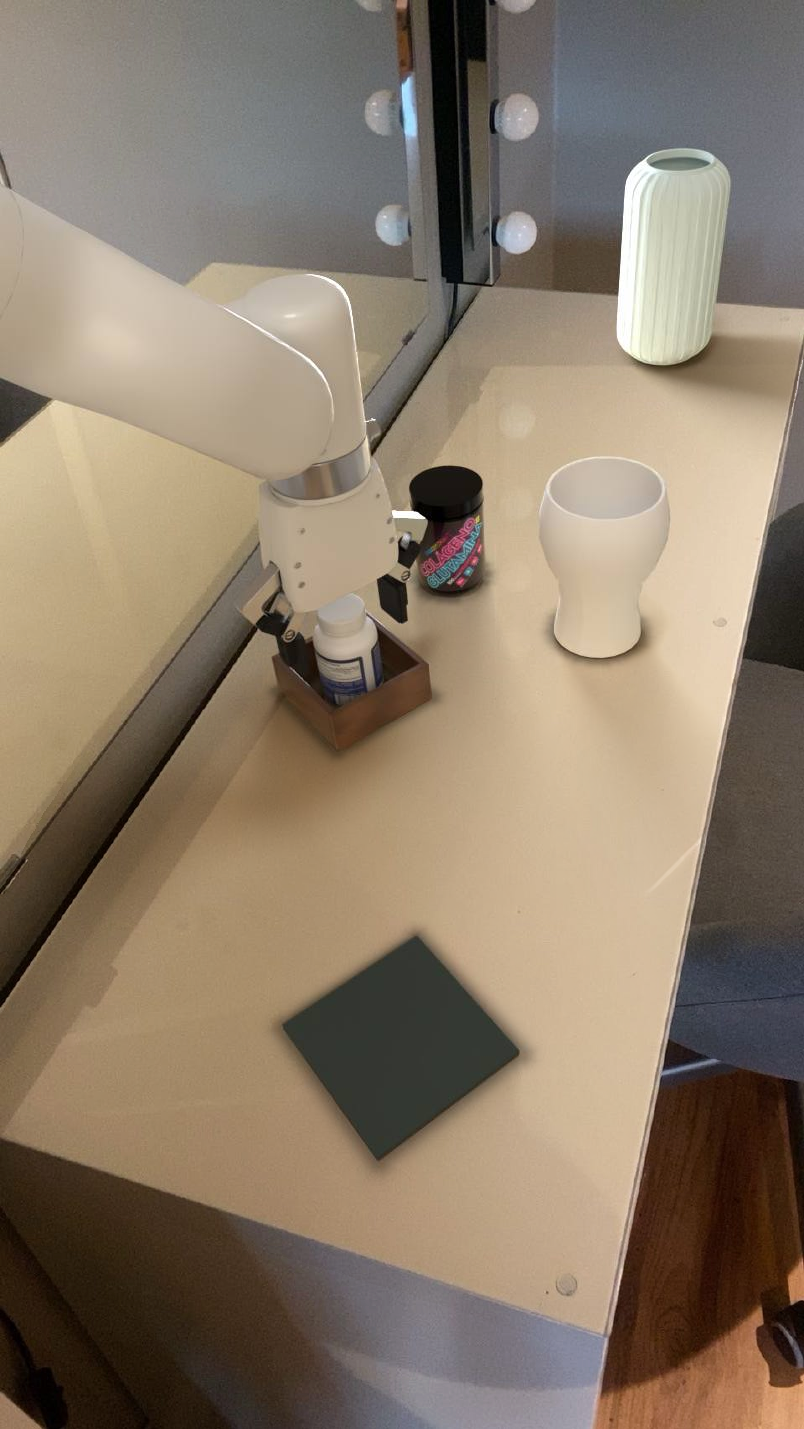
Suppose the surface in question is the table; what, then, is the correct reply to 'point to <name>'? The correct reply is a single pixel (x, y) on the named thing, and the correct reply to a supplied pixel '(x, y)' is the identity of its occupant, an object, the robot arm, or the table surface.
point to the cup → (602, 549)
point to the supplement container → (450, 529)
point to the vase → (671, 254)
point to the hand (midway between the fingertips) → (347, 640)
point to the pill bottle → (346, 651)
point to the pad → (399, 1045)
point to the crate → (369, 707)
